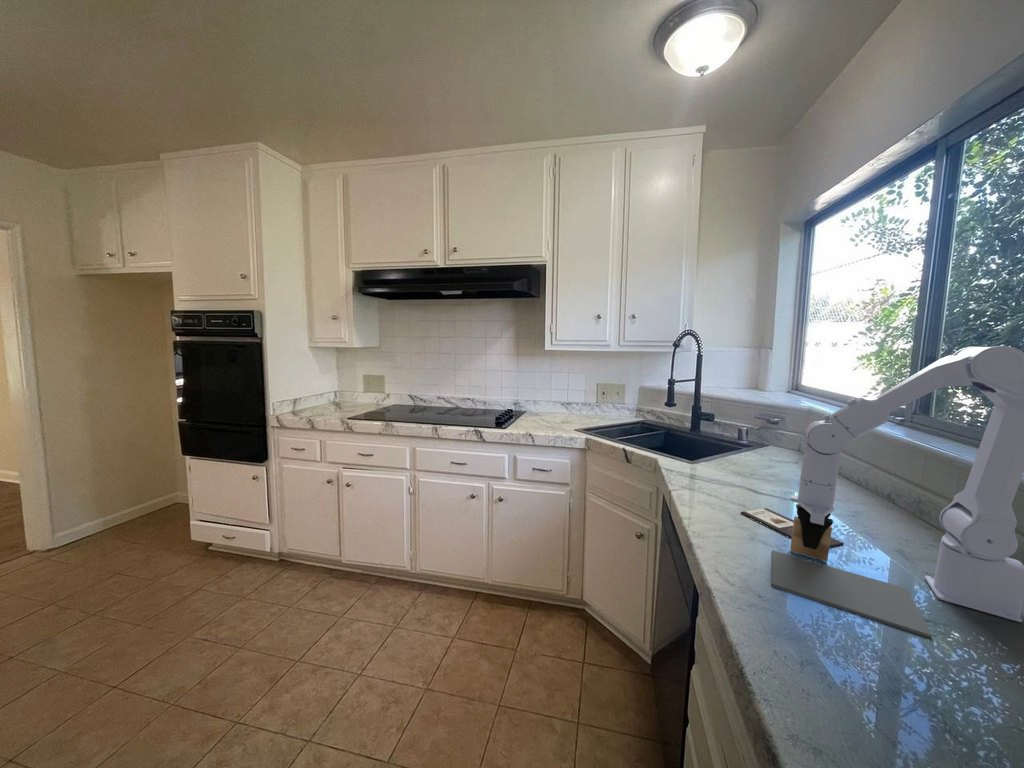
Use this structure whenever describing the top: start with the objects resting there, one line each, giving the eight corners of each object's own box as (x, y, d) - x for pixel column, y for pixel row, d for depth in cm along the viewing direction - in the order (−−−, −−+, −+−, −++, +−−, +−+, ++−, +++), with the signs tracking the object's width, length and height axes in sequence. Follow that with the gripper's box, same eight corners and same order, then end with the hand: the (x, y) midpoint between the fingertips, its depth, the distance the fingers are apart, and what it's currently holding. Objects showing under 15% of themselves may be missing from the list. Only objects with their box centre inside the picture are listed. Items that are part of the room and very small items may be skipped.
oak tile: (826, 556, 79) (830, 524, 78) (827, 561, 77) (832, 527, 76) (790, 547, 82) (794, 515, 81) (790, 551, 81) (794, 519, 80)
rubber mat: (905, 590, 70) (906, 588, 69) (931, 638, 58) (932, 635, 58) (772, 552, 81) (772, 550, 81) (771, 586, 69) (771, 583, 69)
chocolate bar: (815, 548, 82) (740, 511, 99) (815, 552, 82) (740, 515, 99) (843, 542, 85) (766, 508, 102) (843, 546, 85) (766, 511, 102)
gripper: (792, 467, 86) (784, 525, 88) (794, 486, 74) (786, 553, 76) (833, 474, 82) (824, 535, 84) (842, 495, 70) (832, 566, 72)
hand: (809, 544), depth 79 cm, fingers closed on oak tile, 2 cm apart
